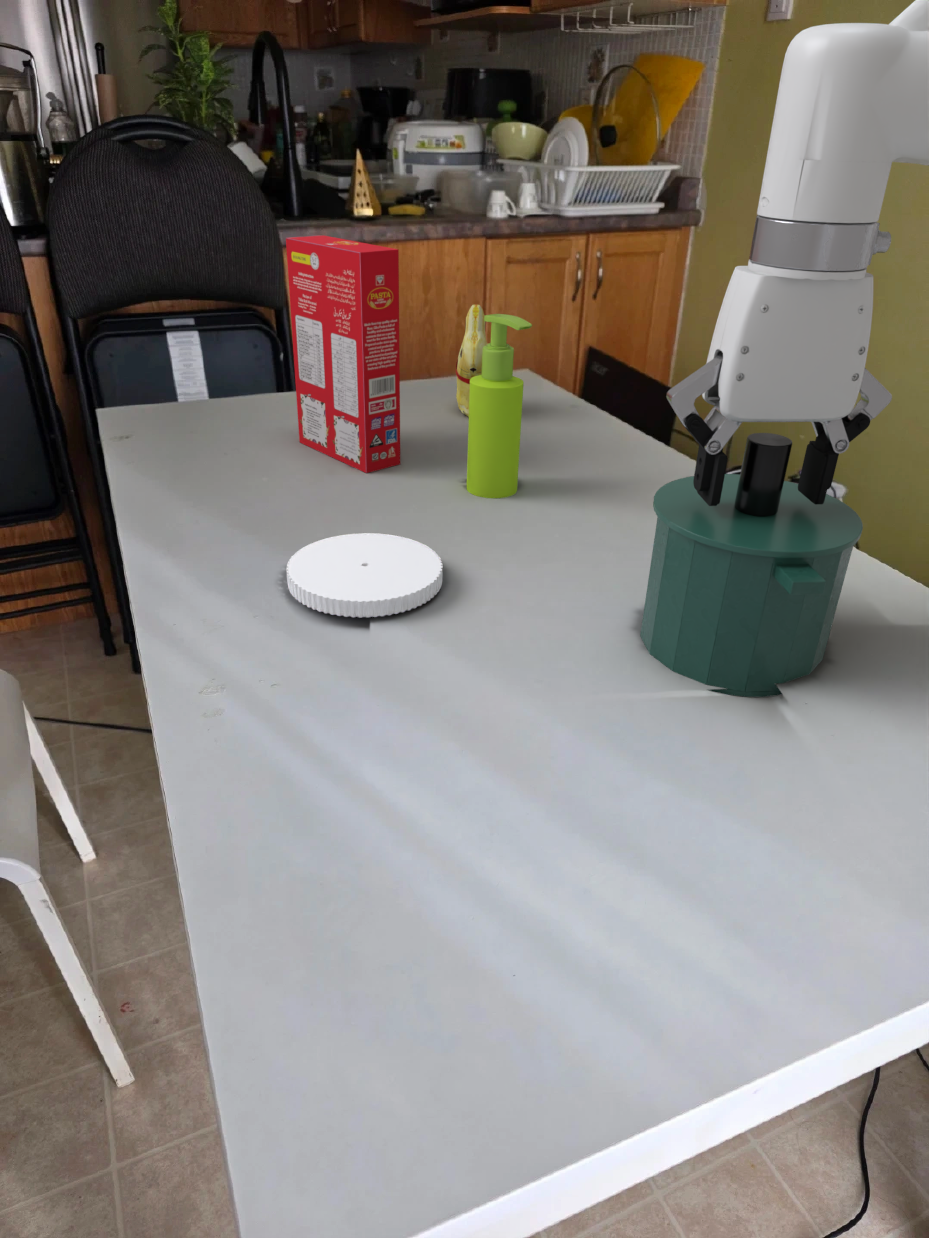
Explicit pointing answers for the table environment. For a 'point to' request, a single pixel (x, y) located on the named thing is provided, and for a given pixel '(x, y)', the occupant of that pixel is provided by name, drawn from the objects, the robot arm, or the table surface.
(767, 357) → the robot arm
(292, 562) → the plastic lid
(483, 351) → the soap dispenser
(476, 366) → the chocolate bunny
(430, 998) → the table surface
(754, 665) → the pot
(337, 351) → the food packaging
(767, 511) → the pot lid
